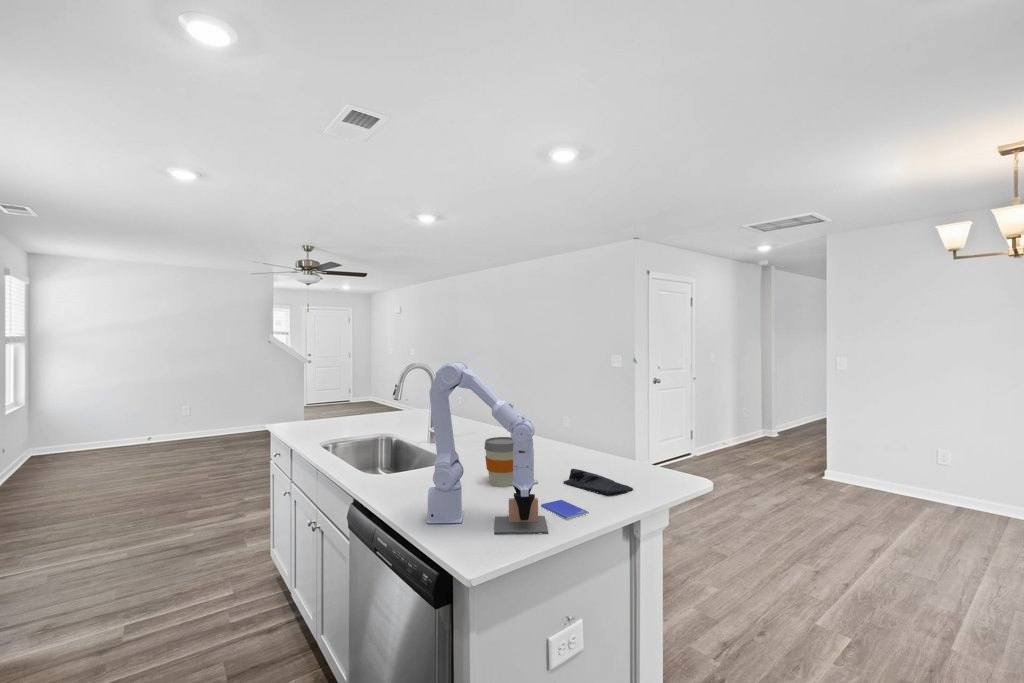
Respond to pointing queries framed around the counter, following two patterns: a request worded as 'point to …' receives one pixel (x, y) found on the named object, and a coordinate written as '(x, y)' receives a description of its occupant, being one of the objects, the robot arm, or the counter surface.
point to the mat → (519, 526)
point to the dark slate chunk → (595, 482)
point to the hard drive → (564, 509)
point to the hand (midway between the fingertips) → (523, 514)
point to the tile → (515, 512)
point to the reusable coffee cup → (499, 460)
